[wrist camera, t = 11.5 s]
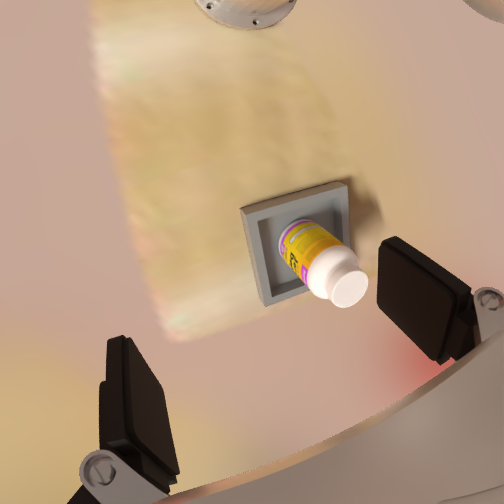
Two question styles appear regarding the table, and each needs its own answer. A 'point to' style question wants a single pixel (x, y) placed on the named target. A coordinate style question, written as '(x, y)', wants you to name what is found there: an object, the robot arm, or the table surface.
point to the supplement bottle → (323, 263)
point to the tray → (274, 223)
